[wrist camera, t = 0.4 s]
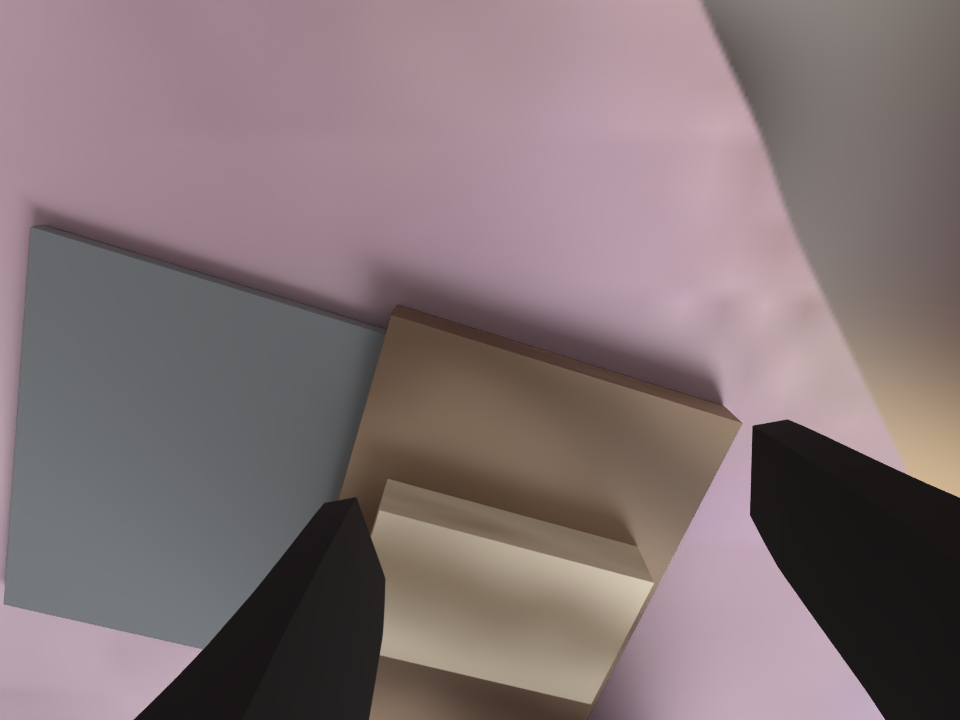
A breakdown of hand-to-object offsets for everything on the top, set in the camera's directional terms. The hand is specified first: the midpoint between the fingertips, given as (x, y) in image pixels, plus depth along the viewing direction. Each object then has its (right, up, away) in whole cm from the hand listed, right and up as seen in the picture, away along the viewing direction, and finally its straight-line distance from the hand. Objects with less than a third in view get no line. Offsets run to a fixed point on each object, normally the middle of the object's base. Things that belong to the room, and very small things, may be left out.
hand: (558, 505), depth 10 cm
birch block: (-1, -6, +12) cm, 13 cm away
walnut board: (-1, -5, +13) cm, 14 cm away
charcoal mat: (-13, -2, +12) cm, 17 cm away
